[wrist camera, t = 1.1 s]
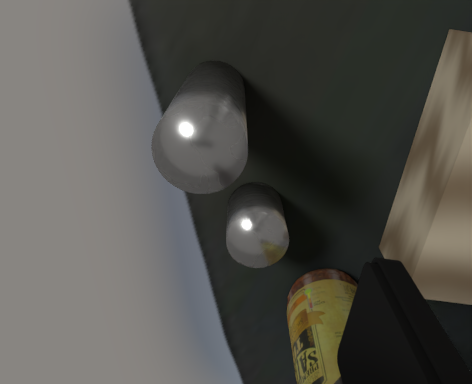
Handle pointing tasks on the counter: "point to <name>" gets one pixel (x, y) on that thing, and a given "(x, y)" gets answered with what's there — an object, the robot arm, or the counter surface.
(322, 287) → the sauce bottle
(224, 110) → the long pin
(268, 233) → the short pin
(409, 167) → the hole block
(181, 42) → the counter surface
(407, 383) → the robot arm
